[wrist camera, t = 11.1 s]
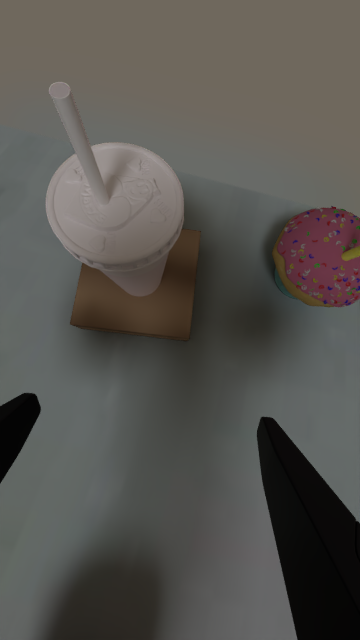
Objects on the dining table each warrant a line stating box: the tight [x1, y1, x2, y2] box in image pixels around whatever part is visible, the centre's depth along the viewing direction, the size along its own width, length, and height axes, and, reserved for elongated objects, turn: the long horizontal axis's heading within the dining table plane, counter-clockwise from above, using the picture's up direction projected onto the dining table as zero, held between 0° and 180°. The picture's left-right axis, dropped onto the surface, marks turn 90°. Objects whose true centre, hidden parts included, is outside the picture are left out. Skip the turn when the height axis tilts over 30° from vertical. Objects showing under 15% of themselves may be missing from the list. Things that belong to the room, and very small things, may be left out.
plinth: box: [70, 229, 201, 341], centre depth 21 cm, size 10×10×2 cm
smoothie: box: [46, 82, 184, 297], centre depth 13 cm, size 6×6×14 cm
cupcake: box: [272, 207, 360, 307], centre depth 18 cm, size 9×8×12 cm
